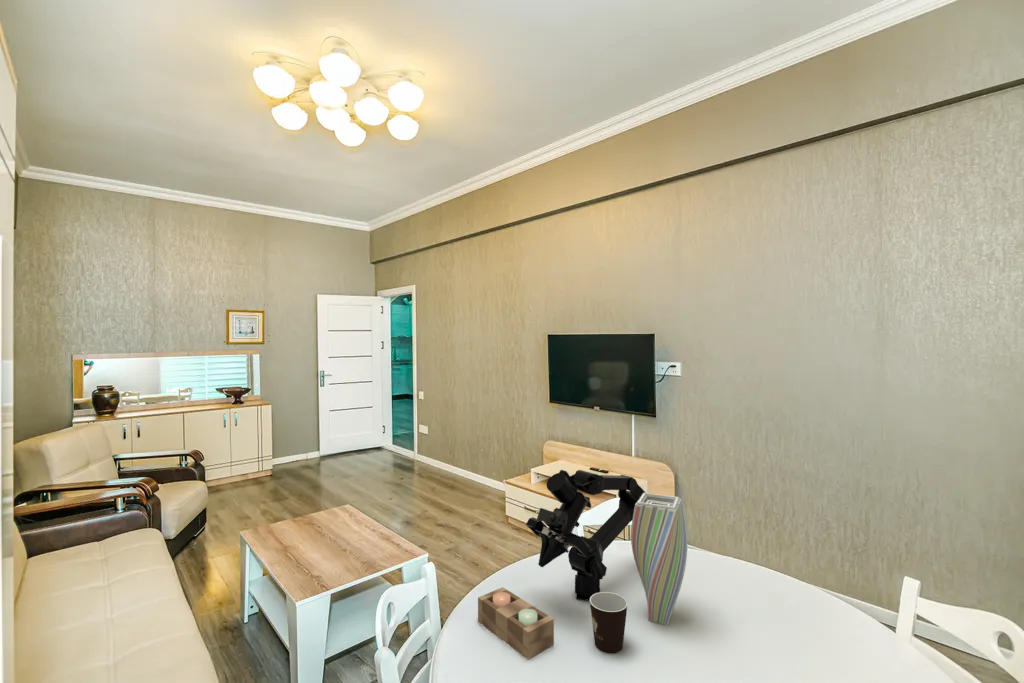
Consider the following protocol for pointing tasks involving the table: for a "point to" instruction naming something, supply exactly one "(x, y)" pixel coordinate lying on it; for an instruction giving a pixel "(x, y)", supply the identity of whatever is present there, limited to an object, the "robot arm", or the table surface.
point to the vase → (659, 551)
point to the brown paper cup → (608, 621)
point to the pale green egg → (528, 616)
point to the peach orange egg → (501, 599)
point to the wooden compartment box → (516, 624)
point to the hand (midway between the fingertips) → (540, 566)
